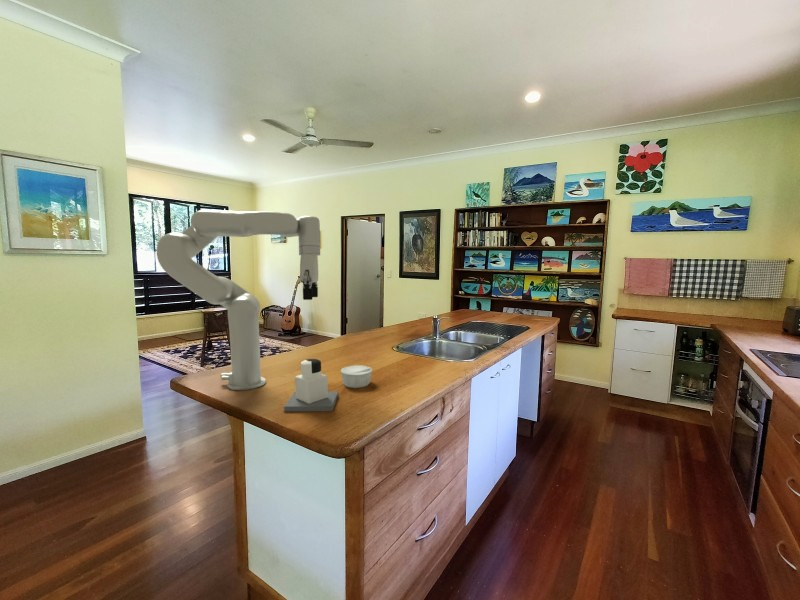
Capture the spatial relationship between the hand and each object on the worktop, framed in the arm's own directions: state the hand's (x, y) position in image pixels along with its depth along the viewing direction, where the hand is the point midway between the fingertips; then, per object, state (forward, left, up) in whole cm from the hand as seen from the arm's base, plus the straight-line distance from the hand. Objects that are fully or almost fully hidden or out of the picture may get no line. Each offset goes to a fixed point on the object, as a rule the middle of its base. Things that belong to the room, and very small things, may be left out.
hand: (310, 298), depth 131 cm
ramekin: (+17, -6, -31) cm, 36 cm away
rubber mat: (+5, -24, -30) cm, 39 cm away
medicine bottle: (+5, -24, -29) cm, 38 cm away
